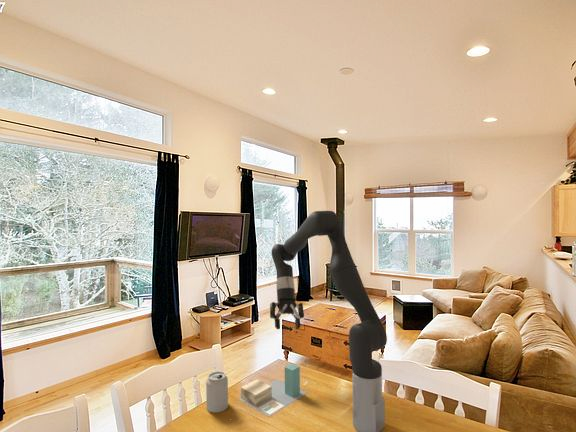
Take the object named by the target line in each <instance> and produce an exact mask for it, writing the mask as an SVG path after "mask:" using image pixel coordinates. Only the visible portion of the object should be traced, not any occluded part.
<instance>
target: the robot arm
mask: <svg viewBox="0 0 576 432" xmlns="http://www.w3.org/2000/svg"><path fill="white" fill-rule="evenodd" d="M315 236H317V237H318V236H319V237H320V236H321V237H323V236H327V237H328V240H329V242H330V246H331V258H330V261H329V272H330V277H331V278H332V281H333V284H334V287H335V288H336V290H337V292H338V293H339V294H340V295H341V296H342V297H343V298H344V299H345V300H346V301H347V303H349V304H350V305H351V306H352V307H353V308H354V310H355V312H356V314H357V316H358V317H359V319H360V322H359V323H356V324H353V325H352V326H351V327H350V329H349V332H348V349H349V361H350V364H351V366H352V367H351V368H352V425H353V428H354V429H355V430H357V431H358V432H381V431H382V430H383V429H384V428H385V427H386V410H385V408H386V403H385V402H386V399H385V397H384V396H383V374H382V373H383V368H382V364H381V362H379V361H378V360H376V359H374V358H373V356H372V355H373V352H375V351H378V350H382V349H384V347H386V345H387V342H388V335H387V332H386V328H385V327H384V324H383V323H382V321H381V319H380V317H379V315H378V313H377V311H376V310H375V307H374V305H373V304H372V301H371V299H370V297H369V294H368V292H367V290H366V288H365V286H364V283H363V280H362V278H361V275H360V273H359V270H358V268H357V265H356V264H355V262H354V259H353V256H352V254H351V252H350V249H349V247H348V243H347V240H346V237H345V235H344V230H343V227H342V223H341V221H340V219H339V216H338V215H337V214H336V212H335V211H332V210H316V211H312V212H311V213H310V214H309V215H308V216H307V217H306V219H305V220H304V221H303V223H301V225H300V226H299V228H298V229H297V231H296V232H295V233H293V234H292V235H291V236H290V237H288V238H287V239H286V240H285V241H284V243H283V244H281V243H277V244H274V245H273V246H272V248H271V257H272V260H273V261H272V262H273V263H274V267H275V270H276V299H277V300H276V301H277V302H275V301H273V302H271V303H270V304H269V316H270V317H269V318H271V319H274V327H275V329H276V330H280V329H281V316H282V315H291V316H292V317H293V318H294V324H295V325H294V327H295V330H299V329H300V328H301V319H303V318H304V317H305V314H304V313H305V312H304V306H303V302H300V303H297V302H296V290H295V289H296V288H295V281H294V272H293V271H294V270H293V266H292V265H290V264H288V263H286V262H291V261H293V260H294V259H296V256H297V254H298V253H299V252H300V251H301V250H303V249H305V248H306V246H307V245H308V242H309V239H310V238H313V237H315ZM277 308H278V311H277V312H276V309H277Z"/></svg>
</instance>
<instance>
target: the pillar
mask: <svg viewBox="0 0 576 432" xmlns="http://www.w3.org/2000/svg"><path fill="white" fill-rule="evenodd" d="M300 369H301V368H300V366H299V365H297V364H293V363H290V364H288V365H286V366H284V382H285V394H287V395H289V396H291V397H294V396H296V395H298V394H299V393H300V390H301V376H300V375H301V371H300Z"/></svg>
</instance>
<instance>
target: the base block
mask: <svg viewBox="0 0 576 432" xmlns="http://www.w3.org/2000/svg"><path fill="white" fill-rule="evenodd" d="M271 397H272V386H270V385H268V383H266V382H264V381H262V380H259V379H254V380H253V381H251V382H249V383H246V384H245V385H241V387H240V398H242V399H244V400H245V401H247V402H249V403H251V404H252V405H254V406H257V405H259V404H260V403H262V402H264V401H266V400H267V399H269V398H271Z"/></svg>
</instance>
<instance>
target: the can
mask: <svg viewBox="0 0 576 432" xmlns="http://www.w3.org/2000/svg"><path fill="white" fill-rule="evenodd" d="M228 380H229V378H228V376H227V375H226V372H223V371H214V372H211V373H209V374H208V375H207V378H206V380H205V384H206V385H205V388H206V389H205V396H206V402H205V403H206V410H207V411H208V412H210V413H213V414H214V413H220V412H224V411H225V410H227V408H228V407H229V385H228V384H229V383H228V382H229V381H228Z"/></svg>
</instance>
